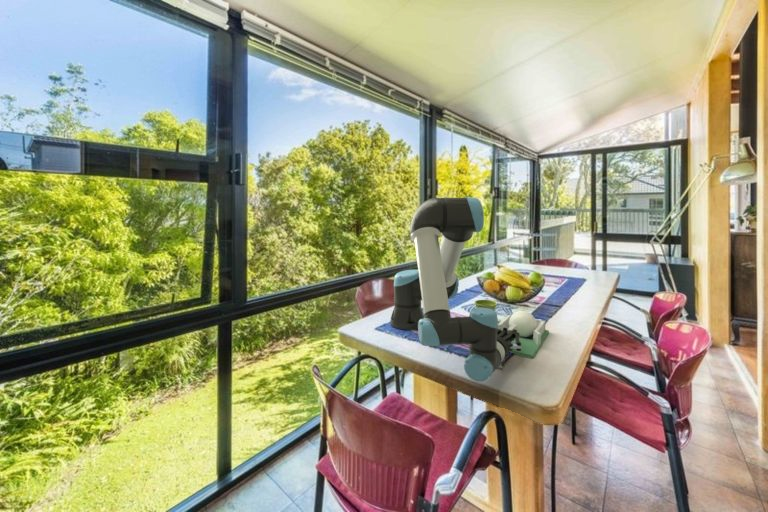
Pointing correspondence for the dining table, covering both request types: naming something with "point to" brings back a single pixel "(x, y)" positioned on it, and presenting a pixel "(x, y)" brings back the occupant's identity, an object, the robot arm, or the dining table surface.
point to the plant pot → (486, 304)
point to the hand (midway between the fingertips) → (514, 328)
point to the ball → (523, 323)
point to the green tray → (528, 345)
